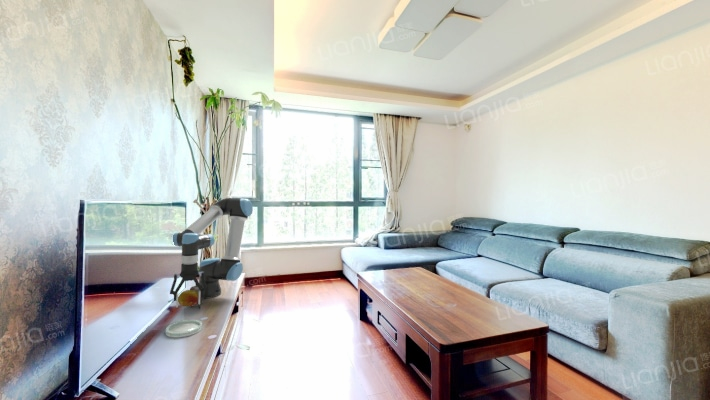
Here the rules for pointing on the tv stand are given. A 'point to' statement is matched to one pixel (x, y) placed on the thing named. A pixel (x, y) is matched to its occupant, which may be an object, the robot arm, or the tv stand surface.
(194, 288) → the alarm clock
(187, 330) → the dish
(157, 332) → the tv stand surface
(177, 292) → the robot arm
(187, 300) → the fruit
